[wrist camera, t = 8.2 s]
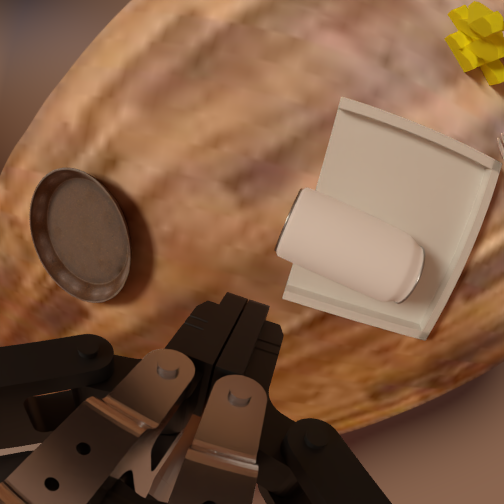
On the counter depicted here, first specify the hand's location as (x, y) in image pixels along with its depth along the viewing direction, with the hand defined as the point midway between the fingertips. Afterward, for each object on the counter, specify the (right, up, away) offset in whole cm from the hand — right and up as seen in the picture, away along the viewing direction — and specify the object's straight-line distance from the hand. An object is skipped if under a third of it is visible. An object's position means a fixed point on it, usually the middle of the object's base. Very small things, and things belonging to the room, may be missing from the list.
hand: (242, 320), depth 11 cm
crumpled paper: (+22, +22, +10) cm, 32 cm away
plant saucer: (-21, +5, +27) cm, 35 cm away
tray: (+14, +5, +18) cm, 23 cm away
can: (+3, +5, +17) cm, 18 cm away
